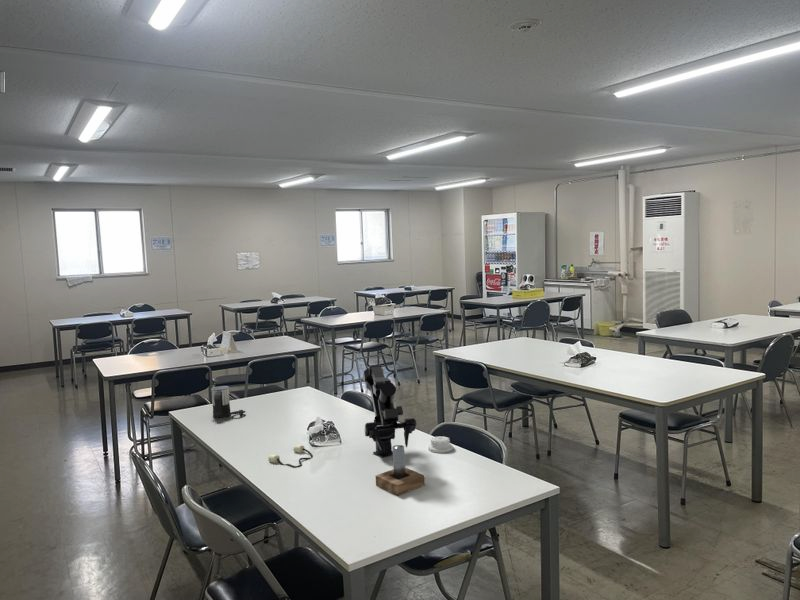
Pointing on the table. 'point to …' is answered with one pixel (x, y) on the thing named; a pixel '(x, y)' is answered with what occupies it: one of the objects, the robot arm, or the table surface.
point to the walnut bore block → (400, 481)
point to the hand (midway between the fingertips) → (394, 448)
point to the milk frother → (222, 402)
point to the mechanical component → (440, 445)
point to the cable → (296, 449)
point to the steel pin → (398, 462)
